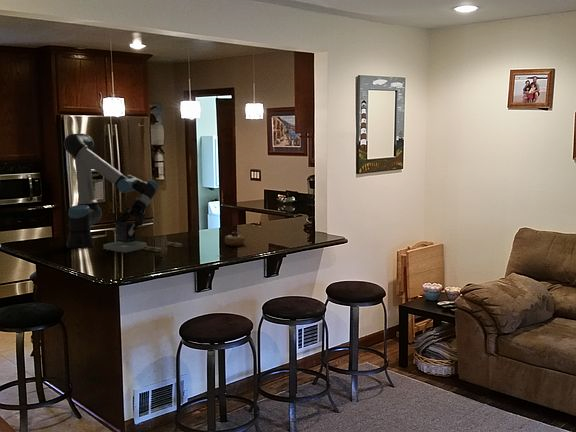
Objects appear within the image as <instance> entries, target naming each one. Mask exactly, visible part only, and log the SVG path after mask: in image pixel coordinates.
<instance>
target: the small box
mask: <svg viewBox="0 0 576 432" xmlns="http://www.w3.org/2000/svg"><path fill="white" fill-rule="evenodd" d="M133 224H135V222H129V221H125V222H115V227H116V234H115V235H116V236H115V237H116V242H119V241H121V242H125V243H127V242H134V241H136V230H135V231H134V233H133V234H132V236H130V235H129V234H128V232H129V230H130V229H131V227H132V226H133Z"/></svg>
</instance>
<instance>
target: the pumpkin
mask: <svg viewBox="0 0 576 432" xmlns="http://www.w3.org/2000/svg"><path fill="white" fill-rule="evenodd" d="M237 232H239V230H238V229H236V230H235V231H232V232H231V234H227V235H225V236H224V243H225V244H226V245H227V246H229V247H240V246H241V245H242V246H243V245H244V243H245V241H246V237H245V236H243V235H239V234H238V233H237ZM242 246H241V247H242Z"/></svg>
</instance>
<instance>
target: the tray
mask: <svg viewBox="0 0 576 432" xmlns="http://www.w3.org/2000/svg"><path fill="white" fill-rule="evenodd" d="M144 246H148V245H147V242H144V241H143V242H142V241H136V240H135V241H134V242H127V243H125V242H121V241H115V242H108V243H105V244H103V250H104V249H106V250H105V251H109V250H111V252H115V253H116V252H118V253H124V254H126V253H131V252H135V251H140V250H144Z"/></svg>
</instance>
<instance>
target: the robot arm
mask: <svg viewBox="0 0 576 432" xmlns="http://www.w3.org/2000/svg"><path fill="white" fill-rule="evenodd" d="M63 147H64V149H65V151H66V152H67V153H68V154H70V156H71V158H72V159H73V160H74V162H75V163H74V165H75V169H76V170H75V171H76V179H77V187H78V188H77V189H78V197H79V201H78V202H77V205H72V206H70V207H69V208H68V213H67V214H68V232H69V233H68V237H67V241H66V248H68V249H75V250H78V248H79V249H88V248H87V247H89V248H92V246H93V247H95V241H94V237H93V236H92V233H91V232H92V231H91V225H95V224H97V223H98V222H99V221H100V220H101V218H102V216H103V212H102V208H100V206H99V202H98V200H97V199H96V198H95V197H96V196H95V191H94V189H95V188H94V182H93V173H92V170H94V171H95V172H96V173H98V174H99V175H101V176H102V177H103V178H104V179H106V180H107V181H109V182H110V183H111V184H113V185H114V186H116V187H117V190H118V192H120V193H123V194H125V193H130V192H132V191H133V192H136V193H138V195H137V197H136V199H135V200H134V202H133V203H132V207H131V208H126V210H125V211H123V213H122V214H121V215H120V216H119V217H118V218H117V219H116V223H118V222H128V220H129V219H132V218H134V223H135V224H133V226H132V227H131V229H130V230H129V232H128V234H129V235H130V236H132V234H133V233H134V231H135V232H136V230H137V228H138V227H143V223H144V220H145V216H146V214H147V212H146V209H147V207H148V205H149V204H150V202H151V201H152V199H153V197H154V196H155V195H156V194H157V192H158V189H159V184H158V183H157V182H156V181H155V180H151V179H149V180H147V181H144V180H142V179H140V178H137V177H136V176H134V175H131V174H127V175H126V176H125V175H124V174H123V173H121V171H119V170H118V169H116V168H115V167H114V166H112V165H111V164H110V163H108V162H107V161H105V160H104V159H103V158H101V157H100V156H99V155H98V154H96V153H95V152H93V150H94V148H95V143H94V139H93V138H92V137H91V136H90V135H89V134H86V133H81V132H80V133H70V134H68V135H67V136H66V137H65V138H64V140H63ZM113 233H114V234H115V235H116V226H114V229H113Z"/></svg>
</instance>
